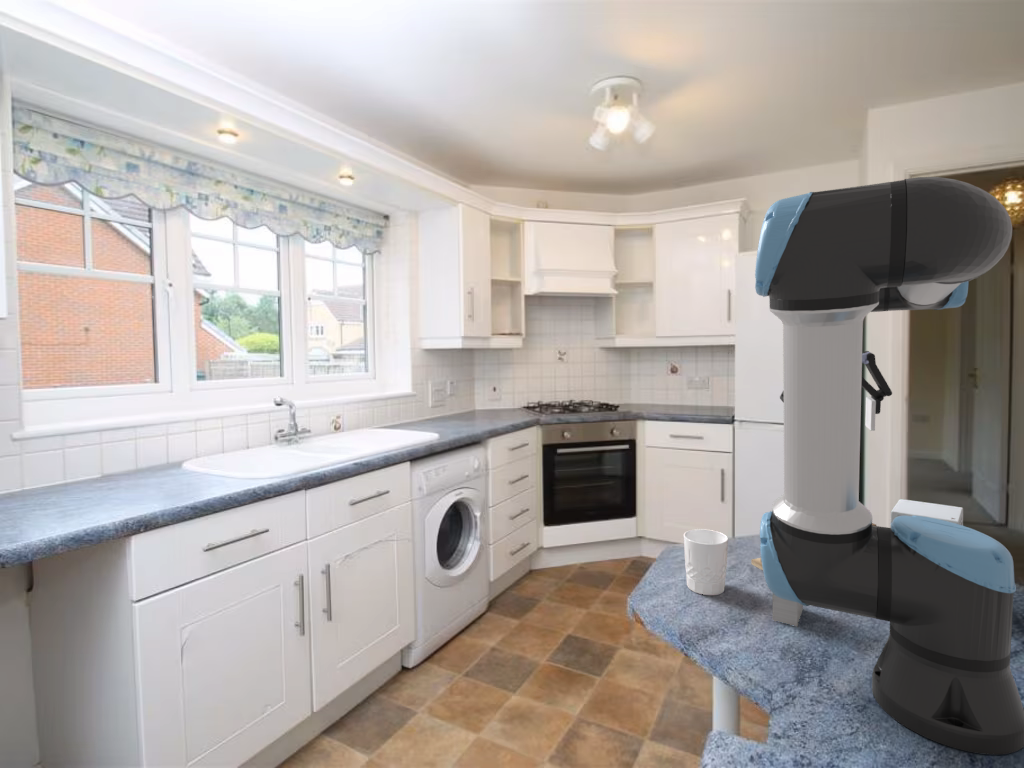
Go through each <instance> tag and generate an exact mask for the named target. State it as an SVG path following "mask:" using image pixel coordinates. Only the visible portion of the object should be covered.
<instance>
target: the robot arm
mask: <svg viewBox="0 0 1024 768" xmlns="http://www.w3.org/2000/svg"><path fill="white" fill-rule="evenodd" d="M763 218H764V219H763V221H762V224H761V229H760V234H759V239H758V240H759V241H758V245H757V252H756V261H755V270H754V271H755V273H754V277H755V287H754V288H755V292H756V294H757V295H758V296H760V297H763V298H766V297H768V298H769V311H770V312H771V313H772V314H773V315H774V316H776V317H777V318H778V319H779V320H781V322H782V328H783V329H782V333H783V334H782V337H783V338H782V341H783V342H782V343H783V344H782V349H783V351H782V353H783V354H782V357H783V358H782V359H783V364H782V365H783V372H782V373H783V380H782V381H783V389H782V392H781V394H780V395H779V399H780V400H781V401H782V403H783V485H784V486H783V490H784V491H783V494H781V496H779V497H778V498H776V499H775V500H774V501H773V502H772V506H771V510H770V511H767V512H765V513H762V516H761V520H760V525H759V538H760V546H759V548H760V549H759V550H760V558H761V561H762V567H763V570H762V571H763V577H764V580H765V583H766V585H767V587H768V589H769V590H770V592H772V595H773V594H775V595H776V596H777V597H779V598H782V599H786V600H790V601H794V602H798V603H800V604H802V605H803V607H804V606H805V607H809V606H811V607H816V608H820V609H826V610H831V611H837V612H841V613H847V614H852V615H855V616H861V617H866V618H871V619H875V620H880V621H885V622H889V634H888V638H887V640H886V641H885V644H884V646H883V648H882V651H881V653H880V654H879V657H878V658H877V661H876V663H875V665H874V667H873V669H872V674H871V676H872V677H871V681H872V682H871V692H872V695H873V697H874V699H875V701H876V703H877V704H878V705H879V706H880V708H881V709H882V710H883V711H885V713H887V715H889V716H890V717H891V718H892V719H893V720H895V721H897V722H898V723H899V724H901V725H902V726H904V727H906V729H909V730H911V731H912V732H914V733H916V734H918V735H920V736H922V737H924V738H927V739H929V740H931V741H933V742H936V743H938V744H942V745H944V746H946V747H950V748H954V749H956V750H957V749H958V750H961V751H964V752H970V753H975V754H981V755H995V756H996V755H1009V754H1012V753H1016V752H1018V751H1020V750H1021V749H1023V748H1024V705H1023V703H1022V699H1021V696H1020V692H1019V689H1018V686H1017V683H1016V681H1015V678H1014V676H1013V673H1012V670H1011V650H1012V649H1011V648H1012V631H1013V630H1012V629H1013V613H1014V608H1013V607H1014V594H1015V592H1016V591H1017V585H1016V583H1015V567H1014V560H1013V556H1012V554H1011V552H1010V550H1008V549H1007V548H1006V546H1005V545H1004V544H1002V543H1001V542H1000V541H998V540H996V539H995V538H993V537H992V536H989V535H987V534H985V533H983V532H981V531H978V530H976V529H974V528H971V527H967V526H965V525H963V526H962V525H959V524H956V523H952V522H948V521H944V520H940V519H935V518H930V517H923V516H912V517H911V516H907V515H905V516H898V517H896V518H895V519H894V520H893V522H892V523H891V528H890V527H887V526H879V525H876V526H873V525H872V523H873V515H872V512H871V511H870V510H869V509H868V507H866V506H865V505H864V504H863V503H862V502H861V501H859V500H860V499H859V495H860V494H859V493H860V462H861V461H860V457H861V455H860V453H861V421H862V420H861V416H862V415H861V414H862V413H861V412H862V407H861V406H862V388H863V390H865V391H866V392H867V393H868V394H869V395H870V396H866V397H865V421H864V423H865V424H864V425H865V426H864V427H866V428H867V429H868V430H869V431H870V432H871V431H876V415H879V414H880V413H881V404H882V403H881V402H882V401H883V400H884V399H885V397H890V396H892V395H893V391H892V389H891V388H890V386H889V384H888V382H887V381H886V378H885V377H884V376H883V374H882V371H880V369H879V368H878V366H877V361H876V355H875V354H874V353H873V352H871V351H869V350H866V351H863V337H864V336H863V328H864V320H865V317H867V316H868V315H869V314H870V313H875V312H878V313H879V312H891V311H918V310H923V311H924V310H934V311H937V310H944V309H955V308H959V307H961V306H963V305H964V304H965V303H966V300H967V297H968V292H969V282H970V281H972V280H974V279H978V278H980V277H981V276H982V275H984V274H986V273H987V272H988V271H990V270H991V269H992V268H994V266H996V265H997V264H998V263H999V262H1000V260H1001V259H1003V257H1004V256H1005V254H1006V252H1007V251H1008V249H1009V248H1010V244H1011V241H1012V238H1013V237H1012V236H1013V226H1012V220H1011V216H1010V214H1009V212H1008V210H1007V209H1006V207H1005V206H1004V205H1003V204H1002V203H1001V202H1000V201H999V199H997V198H996V197H995V196H994V195H992V194H991V193H990V192H988V191H986V190H984V189H983V188H980V187H978V186H975V185H973V184H971V183H969V182H965V181H961V180H958V179H954V178H946V177H940V176H939V177H938V176H919V177H918V176H917V177H911V178H904V179H901V180H894V181H888V182H881V183H874V184H873V183H872V184H866V185H858V186H852V187H844V188H835V189H828V190H822V191H821V190H820V191H809V192H808V193H804V194H799V195H794V196H791V197H786V198H781V199H779V200H777V201H775V202H774V203H773V204H772V205H770V207H769V208H767V210H766V213H765V215H764V217H763ZM863 364H864V365H865V367H866V369H867V370H868V371H867V372H868V373H869V374H870V376H871V377H872V379H873V381H874V382H875V385H876V386H877V387H878V389H875V388H874V386H872V385H871V384H870V382H868V381H867V380H866V379H865V378H864V377H863V376H862V375H863V374H862V373H863V371H862V370H863Z"/></svg>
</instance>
